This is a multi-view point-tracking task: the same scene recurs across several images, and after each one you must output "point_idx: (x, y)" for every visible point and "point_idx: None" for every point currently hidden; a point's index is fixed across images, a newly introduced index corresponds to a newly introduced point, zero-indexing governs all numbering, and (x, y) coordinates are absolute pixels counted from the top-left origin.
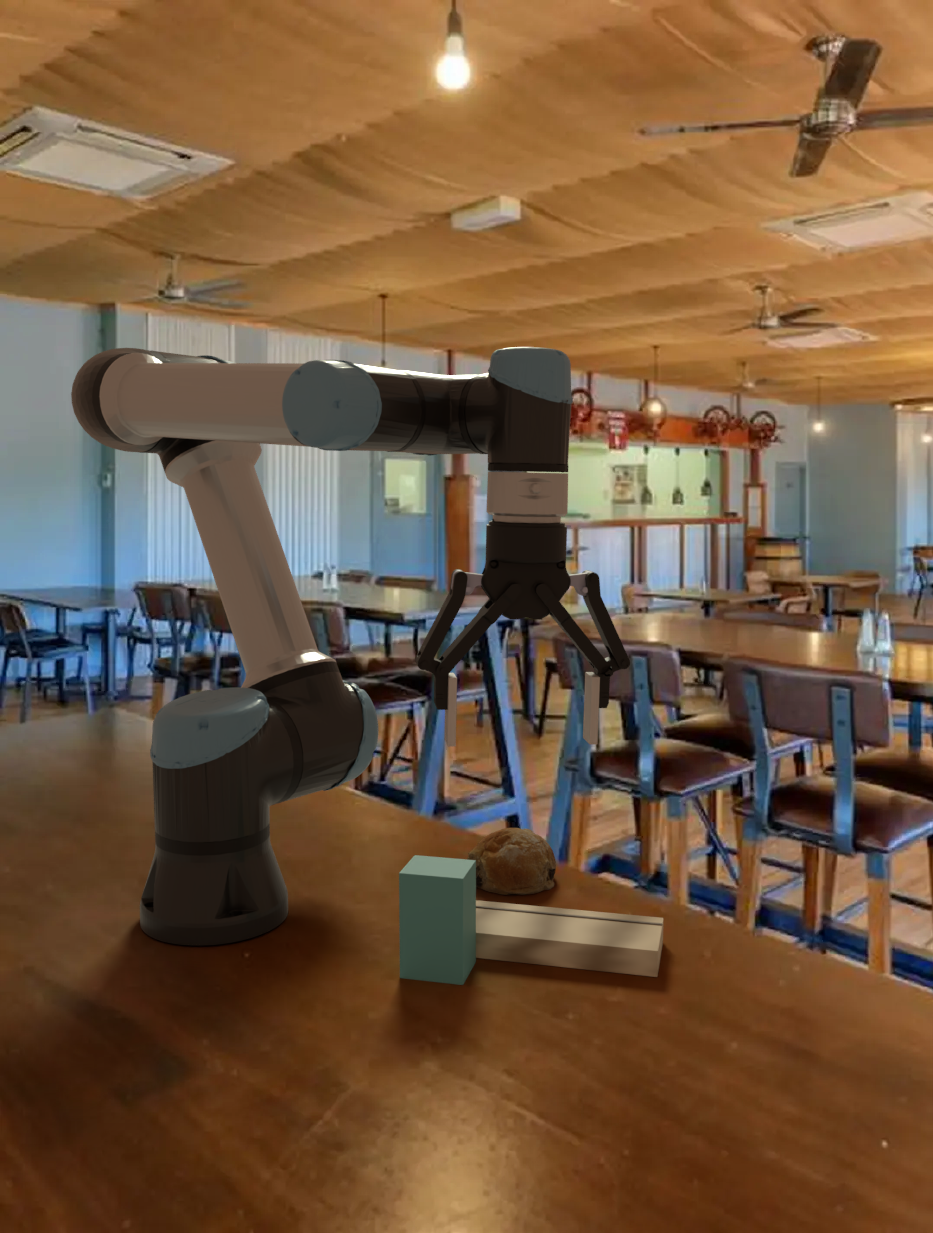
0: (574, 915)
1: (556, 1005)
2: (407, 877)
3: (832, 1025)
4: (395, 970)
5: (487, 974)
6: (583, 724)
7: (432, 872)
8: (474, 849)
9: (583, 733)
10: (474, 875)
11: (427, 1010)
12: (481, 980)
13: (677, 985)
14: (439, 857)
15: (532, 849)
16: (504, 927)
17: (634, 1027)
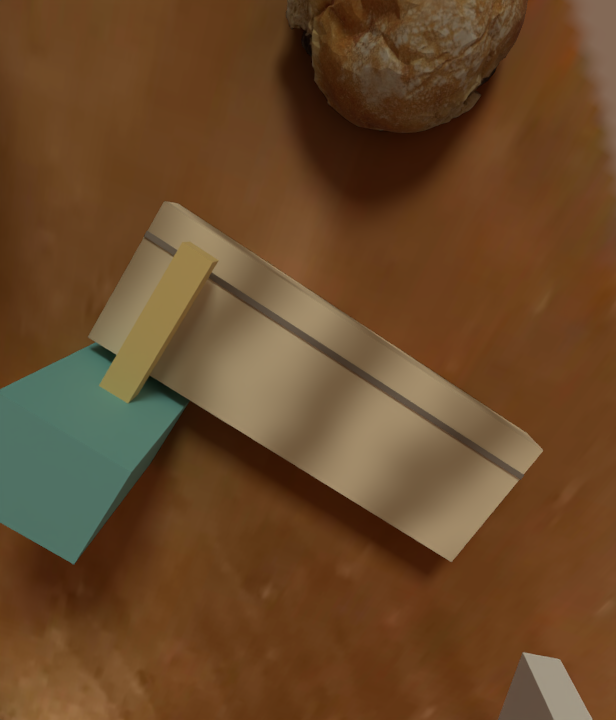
0: (388, 391)
1: (260, 561)
2: None
3: None
4: None
5: (196, 444)
6: (549, 713)
7: (17, 510)
8: None
9: (528, 678)
10: (135, 469)
11: None
12: (181, 459)
13: (455, 567)
14: (52, 426)
15: (439, 79)
16: (242, 393)
17: (333, 642)
